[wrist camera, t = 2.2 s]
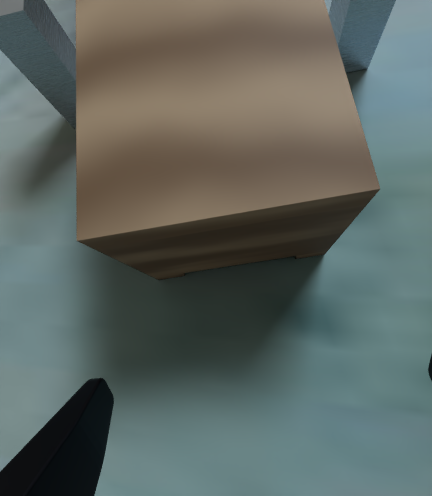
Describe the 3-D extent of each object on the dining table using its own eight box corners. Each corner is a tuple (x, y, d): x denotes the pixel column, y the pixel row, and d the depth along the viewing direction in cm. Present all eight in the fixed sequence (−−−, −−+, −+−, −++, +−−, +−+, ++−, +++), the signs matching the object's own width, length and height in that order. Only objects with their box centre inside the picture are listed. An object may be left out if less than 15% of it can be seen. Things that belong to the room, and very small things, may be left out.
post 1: (107, 123, 27) (23, 10, 17) (75, 130, 27) (-25, 22, 18) (106, 95, 28) (25, -28, 18) (75, 102, 28) (-21, -16, 18)
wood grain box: (324, 254, 21) (380, 188, 11) (158, 279, 23) (76, 240, 13) (282, 70, 26) (296, -95, 16) (144, 100, 27) (75, -36, 17)
